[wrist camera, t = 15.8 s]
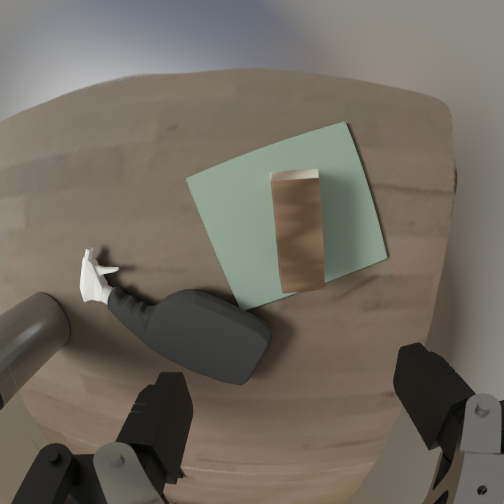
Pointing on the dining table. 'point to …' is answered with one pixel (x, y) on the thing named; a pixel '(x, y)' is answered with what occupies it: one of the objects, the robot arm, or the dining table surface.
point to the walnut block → (298, 229)
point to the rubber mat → (262, 215)
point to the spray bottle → (186, 326)
